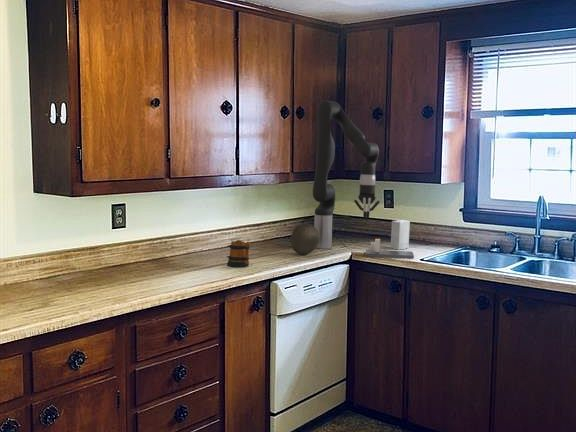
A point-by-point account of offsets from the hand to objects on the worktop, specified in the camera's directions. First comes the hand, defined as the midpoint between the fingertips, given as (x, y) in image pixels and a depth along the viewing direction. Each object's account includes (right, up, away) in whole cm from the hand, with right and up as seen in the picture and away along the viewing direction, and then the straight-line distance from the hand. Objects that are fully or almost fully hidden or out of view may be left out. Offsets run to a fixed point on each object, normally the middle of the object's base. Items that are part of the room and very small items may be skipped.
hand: (366, 219), depth 314 cm
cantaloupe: (-30, -18, -2) cm, 35 cm away
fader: (+6, -16, +1) cm, 17 cm away
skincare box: (+20, -16, +23) cm, 34 cm away
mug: (-60, -21, -34) cm, 71 cm away
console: (+12, -18, +2) cm, 21 cm away
